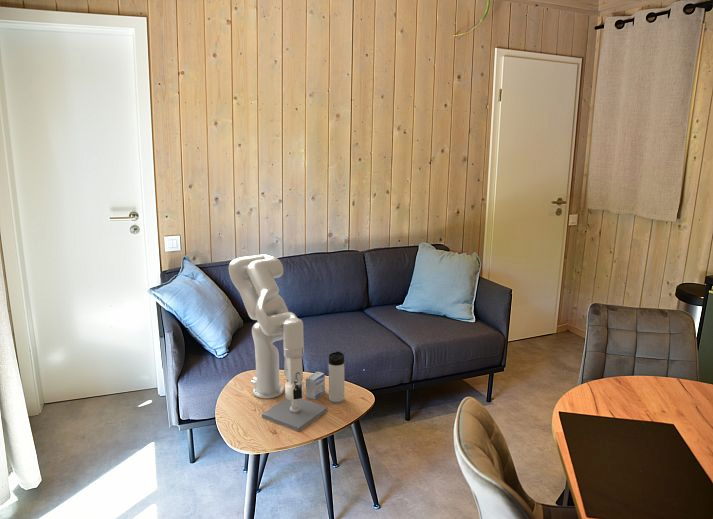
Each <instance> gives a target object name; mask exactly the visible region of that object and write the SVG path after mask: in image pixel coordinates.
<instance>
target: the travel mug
mask: <svg viewBox="0 0 713 519" xmlns="http://www.w3.org/2000/svg"><path fill="white" fill-rule="evenodd" d="M328 401H329V403H331V404H332V405H333V404H335V405H340V404H342V403H344V401H345V354H344V353H343V352H341V351H337V350H336V351H335V352H332V353H329V355H328Z"/></svg>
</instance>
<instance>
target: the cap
mask: <svg viewBox="0 0 713 519" xmlns="http://www.w3.org/2000/svg"><path fill="white" fill-rule="evenodd" d="M295 381H297V380H295ZM295 384H296V385H298V383H295ZM304 386H305V383H304V382H303V381H302V398H301V399H304V397H305V391H304V390H305V387H304ZM284 387H285V388H284V393H285V399H288V400H292V401H296V400H300V399H295V400H294V399H293V389H294V385H293V383H292V384H291V383H290V382H289V381H288V382H285V385H284Z"/></svg>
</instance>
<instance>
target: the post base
mask: <svg viewBox="0 0 713 519" xmlns="http://www.w3.org/2000/svg"><path fill="white" fill-rule="evenodd" d="M328 410H329V409H328V406H326V405H325V406H324V405H322V404H319V403H316V402H314V401H311V400H308V399H305V398H302V399H300V400H296V401H292V400H288V399H286V398H285V399H283V400H282V401H280V402H278V403H277V404H275V405H274V406H272V407H271V408H269V409H267V410H266V411H264V412H262V413H261V418H262V419H265V420H268V421H270V422H273V423H275V424H277V425H281V426H283V427H285V428H287V429H288V428H289V429H290V430H293V431H296V432H300V431H302V430H303V429H304V428H306V427H307V426H309V425H310V424H311V423H313V422H315V420H317V419H318V418H320V417H321V416H323V415H324V414H326V413H327V412H328Z"/></svg>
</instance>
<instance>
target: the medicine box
mask: <svg viewBox="0 0 713 519" xmlns="http://www.w3.org/2000/svg"><path fill="white" fill-rule="evenodd" d="M325 392H326V373H324V372H321V371H315V372H313V373H312V374H311V375H309V376H308V377H306V378H305V394H306V395H305V397H306V398H308V399H311V400H316V399H318V398H319V397H320V396H322V395H323V394H324V393H325Z"/></svg>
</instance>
